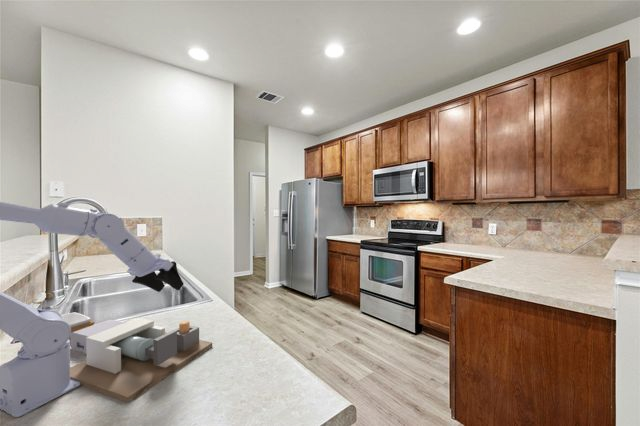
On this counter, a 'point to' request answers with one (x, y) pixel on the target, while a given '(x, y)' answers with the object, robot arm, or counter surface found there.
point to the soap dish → (77, 321)
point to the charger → (90, 333)
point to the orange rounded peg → (184, 327)
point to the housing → (110, 356)
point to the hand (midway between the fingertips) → (171, 287)
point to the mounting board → (133, 373)
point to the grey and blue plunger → (149, 347)
